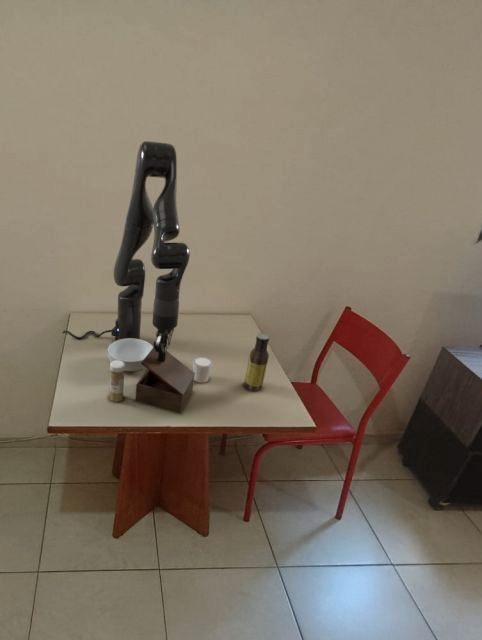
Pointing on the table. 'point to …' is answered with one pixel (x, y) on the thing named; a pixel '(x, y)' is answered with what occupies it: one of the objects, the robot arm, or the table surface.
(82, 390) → the table surface
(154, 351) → the chest lid
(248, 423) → the table surface
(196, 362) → the shot glass
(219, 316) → the table surface
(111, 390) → the sprinkles bottle
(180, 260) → the robot arm
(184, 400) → the chest
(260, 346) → the sauce bottle
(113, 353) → the cereal bowl
